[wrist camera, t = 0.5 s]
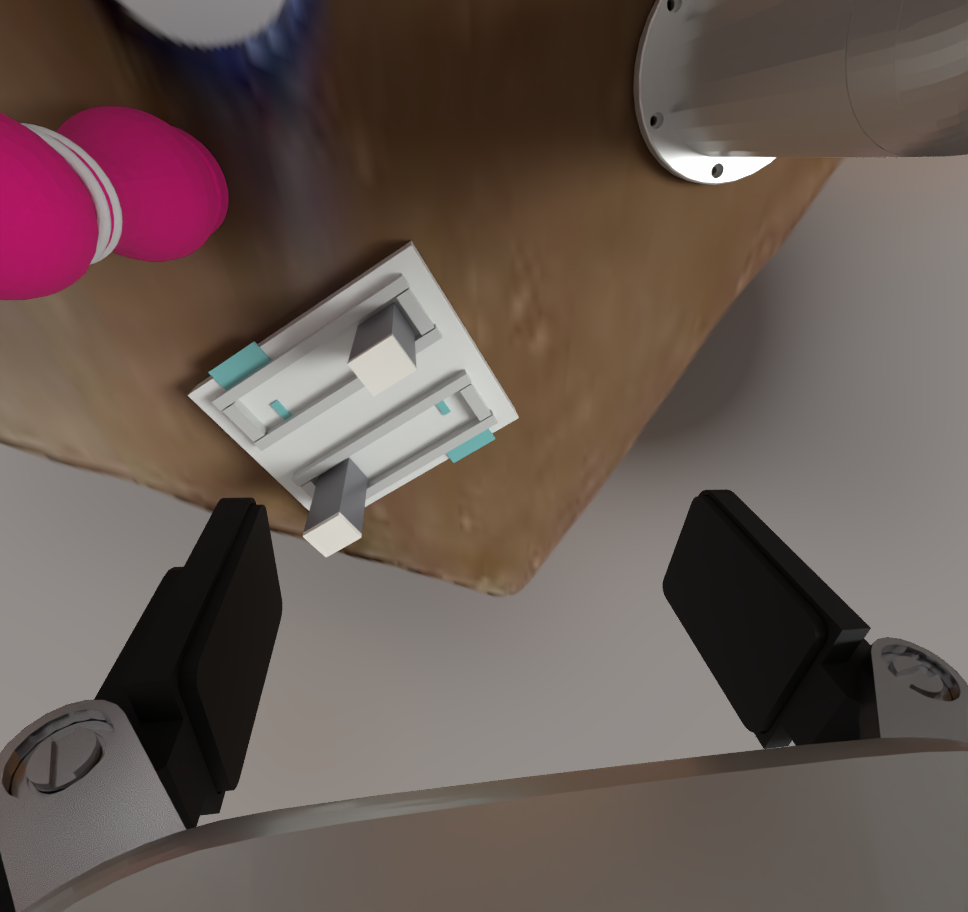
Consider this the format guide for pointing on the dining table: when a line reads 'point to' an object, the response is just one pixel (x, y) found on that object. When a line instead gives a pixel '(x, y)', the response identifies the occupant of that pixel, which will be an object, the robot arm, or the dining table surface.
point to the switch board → (359, 389)
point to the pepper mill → (100, 196)
